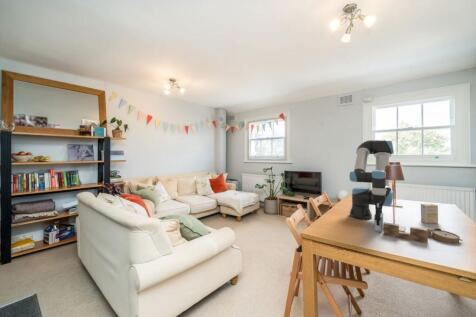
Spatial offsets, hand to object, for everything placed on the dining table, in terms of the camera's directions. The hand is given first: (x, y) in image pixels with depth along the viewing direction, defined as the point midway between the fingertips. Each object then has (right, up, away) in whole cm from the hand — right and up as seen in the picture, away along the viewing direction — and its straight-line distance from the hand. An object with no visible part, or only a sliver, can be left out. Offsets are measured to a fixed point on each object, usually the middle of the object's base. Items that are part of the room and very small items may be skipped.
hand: (378, 227), depth 134 cm
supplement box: (+45, -1, +13) cm, 47 cm away
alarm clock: (+27, -2, -15) cm, 30 cm away
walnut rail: (+6, -1, -14) cm, 15 cm away
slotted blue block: (0, -1, 0) cm, 1 cm away
